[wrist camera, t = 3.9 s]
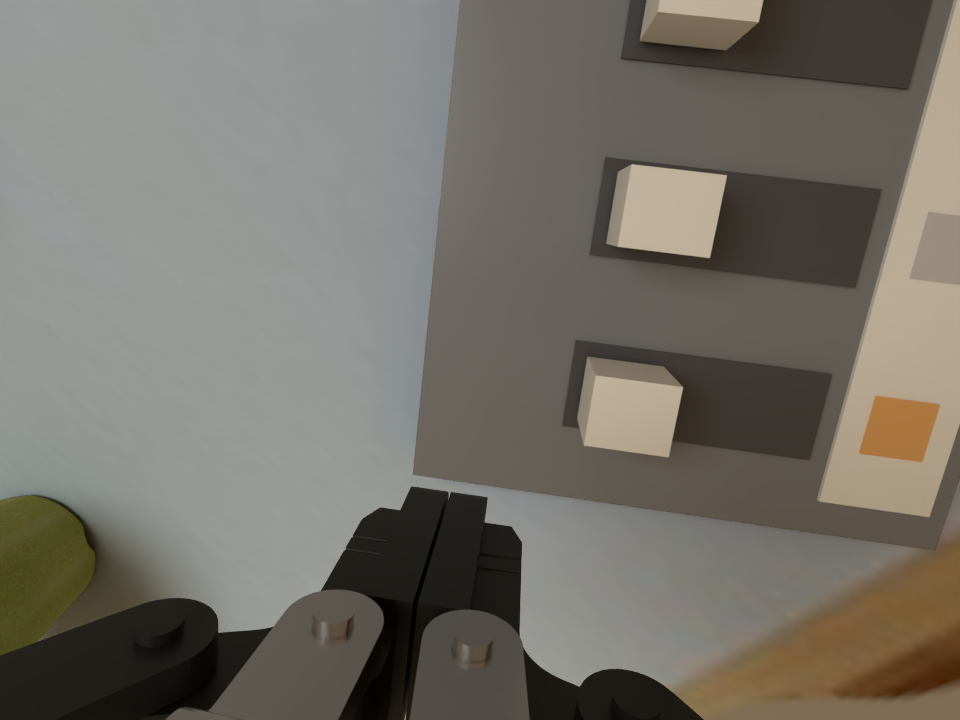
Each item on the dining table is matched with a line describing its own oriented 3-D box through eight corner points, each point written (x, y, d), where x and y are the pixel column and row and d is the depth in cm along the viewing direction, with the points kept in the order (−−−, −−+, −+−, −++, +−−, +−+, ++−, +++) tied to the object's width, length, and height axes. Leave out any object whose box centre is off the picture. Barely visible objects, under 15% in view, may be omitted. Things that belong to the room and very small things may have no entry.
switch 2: (606, 243, 22) (617, 246, 20) (617, 171, 22) (631, 164, 19) (686, 253, 22) (710, 258, 19) (700, 181, 22) (727, 175, 19)
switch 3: (576, 418, 24) (583, 445, 21) (587, 356, 23) (595, 375, 21) (651, 428, 24) (668, 457, 21) (663, 366, 23) (682, 387, 20)
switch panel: (421, 456, 28) (411, 477, 25) (482, -143, 22) (477, -184, 20) (905, 526, 27) (940, 554, 24) (1099, -86, 21) (1167, -123, 19)
